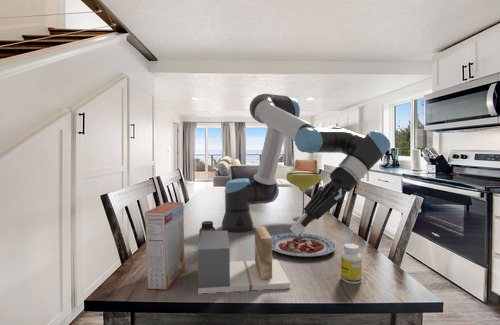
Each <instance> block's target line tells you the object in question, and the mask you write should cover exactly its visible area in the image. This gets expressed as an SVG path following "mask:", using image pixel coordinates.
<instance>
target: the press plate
mask: <svg viewBox="0 0 500 325" xmlns="http://www.w3.org/2000/svg"><path fill="white" fill-rule="evenodd" d="M272 260H273V250H272V236H271V234H270V233H269V231H268V229H267V228H266V226H264V225H263V226H262V225H261V226H260V225H259V226H255V227H254V261H255V263H256V266H257V269H258V272H259V275H260V278H261V279H272Z"/></svg>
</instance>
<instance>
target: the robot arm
mask: <svg viewBox="0 0 500 325" xmlns="http://www.w3.org/2000/svg"><path fill="white" fill-rule="evenodd" d="M300 109H301V108H300V104H299V102H298V101H297V99H296V98H294V97H292V96H287V95H280V94H271V93H261V94H260V93H259V94H258V95H256V96H255V97H254V98H253V99H252V101H250V104H249V113H250V115H251V117H252V118H253V120H255V121H257V122H258V123H260V124H265V126H266V127H267V129H266V133H265V138H264V143H263V147H262V151H261V155H260V160H259V164H258V169H257V173H255V174H254V175H253V177H252V180H250V178H245V177H244V178H235V179H231V180H228V181H226V183H225V188H224V195H225V196H224V203H225V205H224V206H225V207H224V209H225V212H224V215H223V219H222V221H221V229H222V231H228V232H231V233H232V232H233V233H243V232H248V231H252V230H253V229H254V221H253V219H252V216H251V212H250V206H252V205H261V204H265V205H266V204H270V203H273V202H275V201H276V200H277V198H278V197H279V194H280V193H279V191H280V190H279V184H278V182H277V179H276V178H275V176H276V172H277V167H278V165H279V161H280V156H281V153H282V149H283V144H284V141H285V137H286V138H288V139H289V140H292V141H294V145H295V146H296V148H297V150H298V151H300V152H302V153H308V154H316V153H319V154H320V153H329V154H330V153H335V154H337V153H338V154H339V153H340V154H343V155H345V158H343V159H342V160H341V162H340V163H339V164H338V166H337V167H335V168H334V169H333V170H332V172H331V173H329V178H330V181H329V182H328V183H326V184H325V185H324V187H323V186H322V185H321V186H319V188H318V189H317V191H316V192H315V194H314V195H313V196H312V198H311V199H310V200H309V201H308V203H307V204H306V205H305V206H304V214H303V215H302V214H301V215H300V216H299V217H300V218H299V219H298V220H297V221H295V222H294V223H293V224H292V225H291V226H290V228H289V230H291V232H292V233H295V234H296V235H297V236H298V235H299V234H300V233H303V231H304V230H305V229H306V228H307V227H308V225H309V224H310V223H311V222H313V221H314V220H320V219H321V217H323V216H324V215H325V214H326V213H327V212H328V211H330V210H331V209H332V208H333V207H334V206H335V205H337V204H338V203H339V202H341V201H343V200H344V199H345V197H344V195H343V193H344V192H347V193H349V192H351V191H352V190H353V189H354V188H355V187H356V186H357V183H358V182H360V181H361V180H362V179H365V176H366V174H367V173H368V172H369V171H370V170H371V169H372V168H373V167H374V166H375V165H376V164H377V163H378V162H379V161H380V160H381V159H382V158H384V155H385V154H386V153H387V152H388V150H389V149H390V148H391V142H390V139H389V138H388V137H387V136H386V135H385V134H384V133H382V132H381V131H378V130H371V131H370V132H368V133H366V135H363V134H359V133H357V132H354V131H351V130H348V129H346V128H344V127H340V126H334V127H332V128H322V127H317V126H316V125H314V124H311V123H310V122H308V121H306V120H304V119H302V118H300V113H301V110H300ZM312 219H313V221H312Z"/></svg>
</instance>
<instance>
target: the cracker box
mask: <svg viewBox="0 0 500 325" xmlns="http://www.w3.org/2000/svg"><path fill="white" fill-rule="evenodd" d="M184 210H185V209H184V202H181V201H180V202H179V201H177V202H175V201H167V202H164V203H163V204H160V205H157V206H156V207H154V208H151V209H150V210H147V211H145V213H144V219H145V221H144V222H145V247H146V249H145V250H146V277H147V278H146V282H147V283H146V284H147V290H155V289H159V290H160V291H168V290H169V289H170V287H171V285H173V284H174V282H175V281H176V279H177V278H178V277H179V276H180V275H181V273H182V272H183V271H184V269H185V268H186V264H185V263H186V262H185V261H186V260H185V220H184V219H185V217H184V216H185V215H184ZM159 290H158V291H159Z"/></svg>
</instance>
